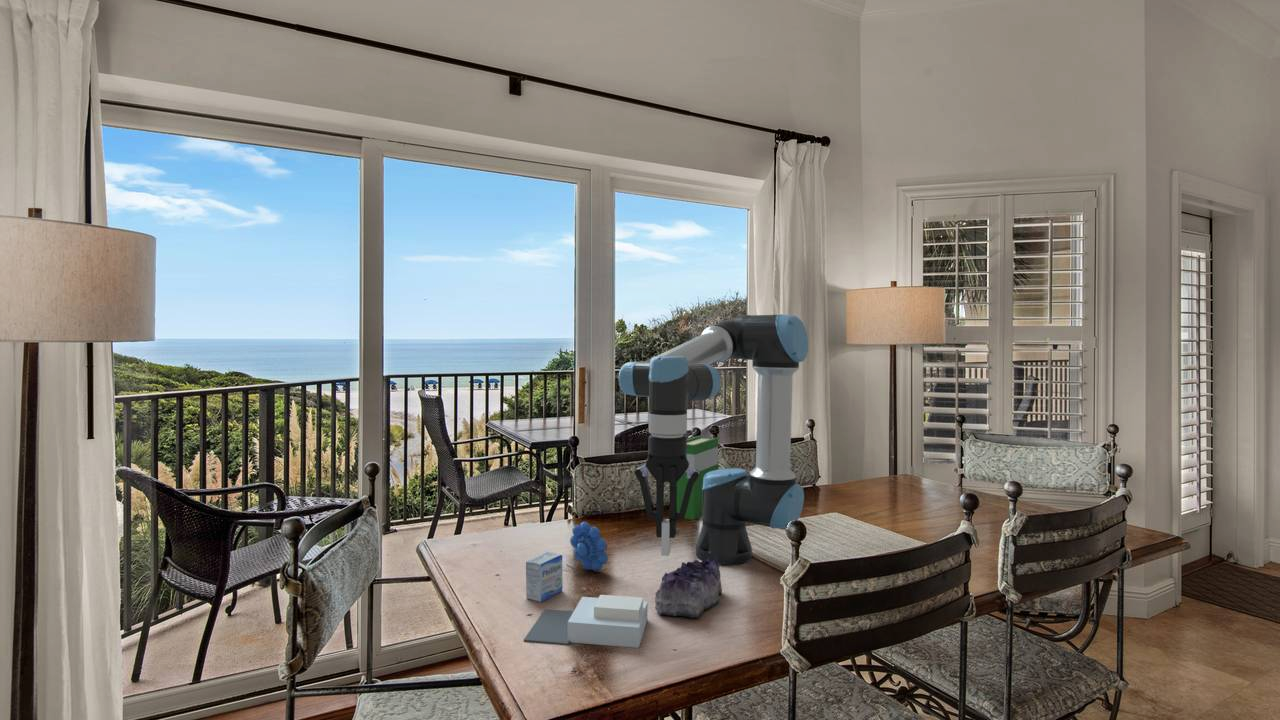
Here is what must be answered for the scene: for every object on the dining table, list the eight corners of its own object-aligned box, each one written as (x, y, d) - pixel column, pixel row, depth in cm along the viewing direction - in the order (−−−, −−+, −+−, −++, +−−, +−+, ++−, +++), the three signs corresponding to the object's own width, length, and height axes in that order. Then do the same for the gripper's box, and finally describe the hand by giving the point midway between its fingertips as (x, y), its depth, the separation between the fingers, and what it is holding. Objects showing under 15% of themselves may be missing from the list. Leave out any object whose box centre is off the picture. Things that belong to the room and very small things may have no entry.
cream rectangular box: (643, 607, 132) (643, 597, 132) (638, 620, 126) (638, 610, 126) (600, 604, 134) (600, 594, 133) (593, 616, 128) (593, 606, 128)
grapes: (559, 569, 163) (559, 522, 163) (576, 561, 169) (576, 516, 168) (596, 580, 157) (596, 531, 156) (612, 571, 162) (613, 524, 162)
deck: (647, 620, 135) (647, 601, 135) (638, 647, 123) (639, 627, 123) (582, 615, 137) (582, 596, 137) (567, 642, 126) (567, 622, 125)
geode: (686, 583, 156) (693, 543, 155) (730, 600, 150) (737, 558, 149) (643, 610, 138) (650, 566, 138) (691, 631, 132) (698, 584, 132)
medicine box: (540, 603, 143) (540, 564, 143) (525, 598, 146) (525, 560, 145) (563, 591, 150) (563, 554, 150) (548, 586, 152) (548, 550, 152)
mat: (585, 613, 138) (585, 612, 138) (568, 644, 124) (568, 643, 124) (544, 610, 140) (544, 608, 140) (523, 641, 126) (523, 639, 126)
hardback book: (697, 503, 226) (698, 435, 225) (717, 507, 222) (718, 437, 221) (673, 516, 211) (674, 443, 210) (693, 519, 207) (694, 445, 206)
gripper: (701, 433, 130) (699, 549, 131) (637, 430, 131) (636, 545, 132) (699, 438, 122) (697, 562, 123) (631, 436, 124) (630, 557, 125)
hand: (665, 553), depth 128 cm, fingers closed
